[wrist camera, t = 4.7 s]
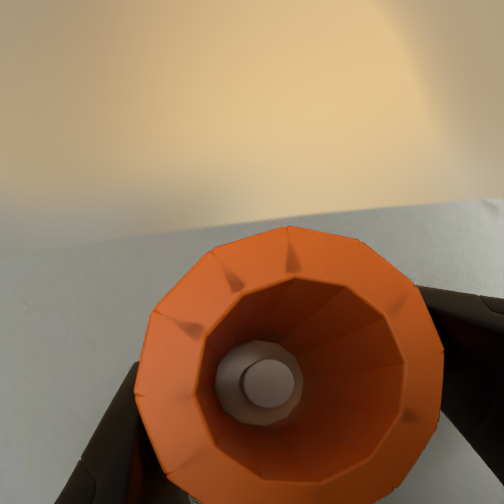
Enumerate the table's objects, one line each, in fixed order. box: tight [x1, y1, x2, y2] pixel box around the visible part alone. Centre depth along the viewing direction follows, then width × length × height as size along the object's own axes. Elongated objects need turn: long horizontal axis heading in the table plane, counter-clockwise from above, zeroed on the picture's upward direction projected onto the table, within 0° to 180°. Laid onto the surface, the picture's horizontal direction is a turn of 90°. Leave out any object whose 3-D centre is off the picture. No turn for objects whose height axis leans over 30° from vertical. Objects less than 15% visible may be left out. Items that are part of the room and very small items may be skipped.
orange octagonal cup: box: [134, 226, 444, 504], centre depth 9 cm, size 6×6×8 cm
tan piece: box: [214, 340, 304, 426], centre depth 12 cm, size 7×7×4 cm
